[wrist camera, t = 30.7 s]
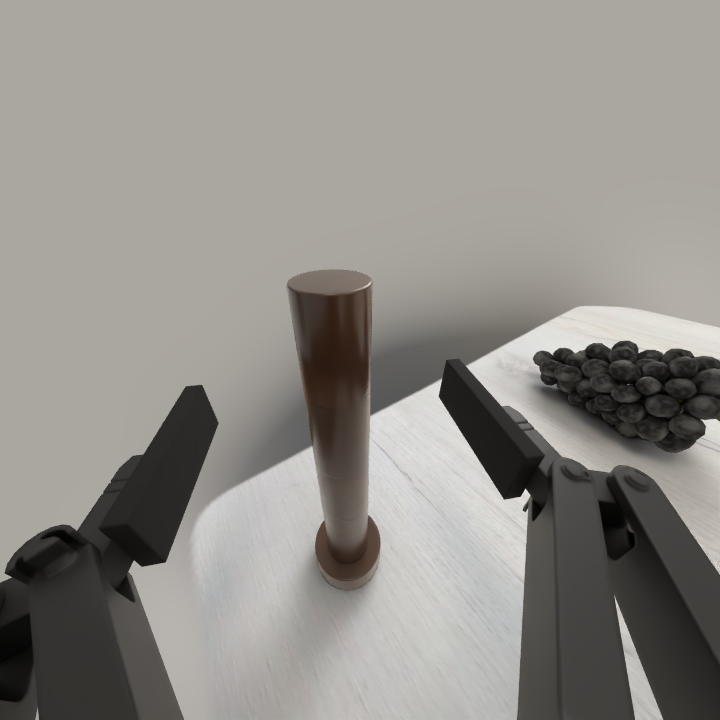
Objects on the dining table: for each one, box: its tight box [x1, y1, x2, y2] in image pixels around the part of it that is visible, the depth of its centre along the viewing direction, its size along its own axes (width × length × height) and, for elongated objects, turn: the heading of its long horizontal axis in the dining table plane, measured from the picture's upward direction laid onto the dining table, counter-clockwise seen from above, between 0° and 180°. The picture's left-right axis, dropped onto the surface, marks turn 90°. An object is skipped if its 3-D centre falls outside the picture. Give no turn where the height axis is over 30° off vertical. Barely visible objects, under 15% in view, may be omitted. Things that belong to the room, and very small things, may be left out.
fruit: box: [533, 341, 720, 453], centre depth 26 cm, size 9×8×15 cm
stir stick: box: [287, 270, 380, 590], centre depth 12 cm, size 4×4×18 cm
